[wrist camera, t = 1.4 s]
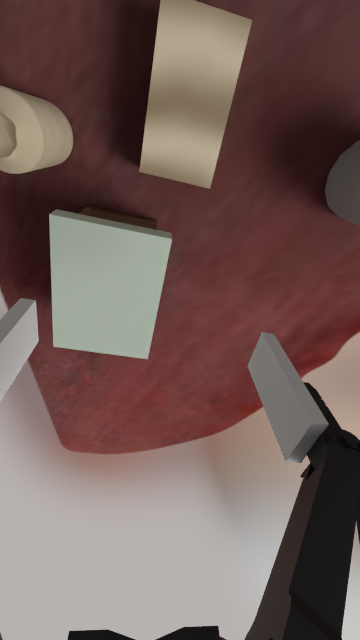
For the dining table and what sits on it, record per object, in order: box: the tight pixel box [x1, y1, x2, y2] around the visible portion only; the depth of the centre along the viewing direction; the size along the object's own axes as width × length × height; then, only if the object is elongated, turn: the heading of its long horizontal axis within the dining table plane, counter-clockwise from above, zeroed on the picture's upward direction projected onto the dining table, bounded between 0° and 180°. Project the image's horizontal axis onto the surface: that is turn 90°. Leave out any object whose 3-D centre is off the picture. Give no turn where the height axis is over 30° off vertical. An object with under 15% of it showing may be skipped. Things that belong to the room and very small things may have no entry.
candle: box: [0, 86, 73, 174], centre depth 24 cm, size 6×6×10 cm
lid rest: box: [139, 0, 252, 189], centre depth 26 cm, size 12×7×4 cm, turn 168°
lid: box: [49, 209, 172, 359], centre depth 30 cm, size 15×11×2 cm
